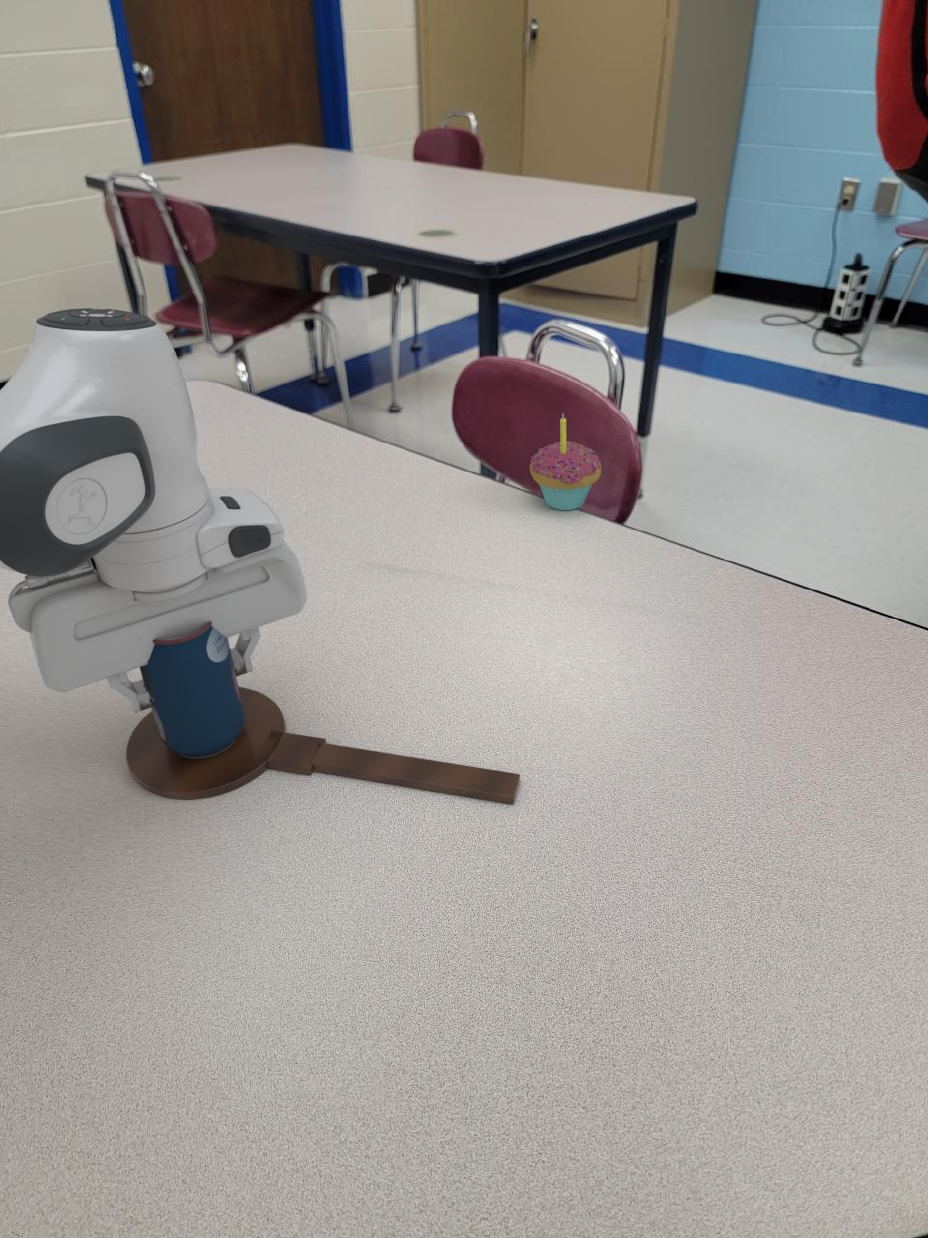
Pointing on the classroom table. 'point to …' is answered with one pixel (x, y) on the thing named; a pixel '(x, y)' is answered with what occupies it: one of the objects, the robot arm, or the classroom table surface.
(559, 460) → the cupcake
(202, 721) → the soda can
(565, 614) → the classroom table surface
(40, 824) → the classroom table surface
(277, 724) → the serving spoon
